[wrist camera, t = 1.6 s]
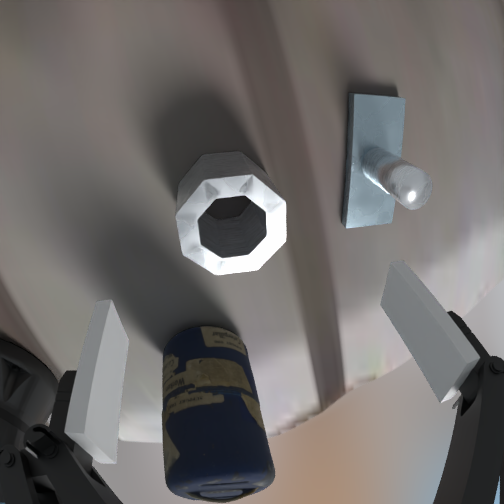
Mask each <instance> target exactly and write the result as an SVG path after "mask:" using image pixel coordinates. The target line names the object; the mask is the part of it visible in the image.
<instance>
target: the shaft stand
mask: <svg viewBox="0 0 504 504" xmlns="http://www.w3.org/2000/svg"><path fill="white" fill-rule="evenodd" d="M404 113H405V98H401V97H396V96H386V95H374V94H361V93H349V111H348V141H347V161H346V177H345V191H344V203H343V215H342V224H343V225H344V227H345V228H353V227H362V226H370V225H379V224H388V223H392V218H393V211H394V205H395V199H396V200H397V201H398V202H400V203H401V204H402V205H403V206H405V207H406V208H407V209H411V210H414V209H418V208H420V207H422V206H423V205H424V204H425V203H426V202H427V201H428V199H429V197H430V195H431V192H432V180H431V178H430V176H429V175H428V174H427V173H426V172H424V171H423V170H421V169H419V168H417V167H416V166H414V165H412V164H411V163H409V162H407V161H405V160H403V159H402V158H401V150H402V140H403V128H404Z"/></svg>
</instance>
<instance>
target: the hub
mask: <svg viewBox="0 0 504 504" xmlns="http://www.w3.org/2000/svg"><path fill="white" fill-rule="evenodd" d="M243 195H245V196H247V197H248V198H249V199H250V200H252V202H251V203H250V204H249V205H248V206H247V207H246V208H245V209H244V210H243V212H242V213H241V214H240V215H239V216H238V217H233V218H225V219H217V220H216V219H214V218H213V217H212V216H210V215H209V214H207V213H206V212H204V211H205V210H206V209H207V208H208V207H209V206H210V204H211V203H212V202H213V201H214V200H215V199H217V198H226V197H234V196H243ZM175 216H176V221H177V227H178V233H179V238H180V244H181V249H182V254H183V255H184V256H186V257H188V258H189V259H191V260H192V261H194V262H196V263H197V264H199V265H200V266H202V267H204V268H205V269H207V270H209V271H210V272H212V273H214V274H215V275H222V274H229V273H237V272H244V271H251V270H257V269H258V268H259V267H260V266H261V265H262V264H263V263H264V262H265V261H266V260H267V259H268V258H269V257H270V256H271V255H272V254H273V253H274V252H275V251H276V250H277V249H278V248H279V247H280V246H281V245H282V244H283V243H284V242H285V241H286V201H285V200H284V198H283V197H282V195H281V194H280V192H279V191H278V189H277V188H276V186H275V185H274V183H273V182H272V180H271V179H270V177H269V176H268V174H267V173H266V172H265V171H264V170H263V169H261V168H260V167H259V166H258V165H257V164H255V163H254V162H253V161H252V160H250V159H249V158H248V157H247V156H246V155H244V154H243V153H242V152H241V151H231V152H222V153H213V154H204V155H201V157H200V158H199V159H198V160H197V161H196V163H195V164H194V165H193V166H192V168H191V169H190V170H189V171H188V172H187V174H186V175H185V176H184V177H183V179H182V180H181V181H180V182H179V188H178V196H177V205H176V214H175Z"/></svg>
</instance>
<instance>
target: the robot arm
mask: <svg viewBox="0 0 504 504" xmlns="http://www.w3.org/2000/svg"><path fill="white" fill-rule="evenodd" d="M380 305H381V306H382V308H383V309H384V311H385V313H386V314H387V316H388V317H389V319H390V320H391V322H392V323H393V325H394V327H395V328H396V330H397V331H398V333H399V334H400V336H401V338H402V339H403V341H404V343H405V344H406V346H407V347H408V349H409V351H410V352H411V354H412V356H413V357H414V359H415V361H416V362H417V364H418V366H419V367H420V369H421V371H422V372H423V374H424V376H425V377H426V379H427V381H428V382H429V384H430V386H431V388H432V390H433V391H434V393H435V395H436V397H437V398H438V400H439V402H440V403H442V402H444V401H446V400H448V399H450V398H453V397H454V395H455V394H456V392H457V391H458V390H460V392H461V396H460V397H459V399H458V400H457V401H456V402H455V404H454V405H453V407H452V408H453V409H455V407H456V406H457V405H458V409H457V415H456V420H455V425H454V430H453V435H452V440H451V444H450V448H449V452H448V456H447V460H446V463H445V467H444V471H443V474H442V478H441V481H440V484H439V487H438V490H437V494H436V497H435V500H434V502H433V504H494V500H495V495H496V491H497V486H498V482H499V476H500V504H504V361H503V360H502V359H501V358H499V357H497V356H490V355H489V354H488V353H487V351H486V350H485V349H484V347H483V346H482V344H481V343H480V342H479V341H478V339H477V338H476V337H475V335H474V334H473V333H472V332H471V330H470V329H469V327H467V325H466V324H465V322H464V321H463V320H462V318H461V317H460V316H458V315H457V314H455V313H454V312H453V311H449V312H446V311H445V309H444V308H443V307H442V306H441V304H440V303H439V302H438V301H437V299H436V298H435V297H434V296H433V295H432V293H431V292H430V291H429V290H428V288H427V287H426V286H425V285H424V284H423V282H422V281H421V280H420V279H419V278H418V277H417V275H416V274H415V273H414V272H413V271H412V270H411V268H410V267H409V266H408V265H407V264H406V263H405V262H404V260H401V261H396V262H391V264H390V268H389V272H388V276H387V281H386V285H385V289H384V293H383V296H382V300H381V304H380ZM128 346H129V339H128V337H127V335H126V333H125V330H124V328H123V326H122V323H121V321H120V319H119V316H118V314H117V311H116V309H115V306H114V304H113V301H112V299H111V300H101V301H97V302H96V305H95V308H94V311H93V315H92V318H91V321H90V325H89V328H88V331H87V335H86V338H85V342H84V346H83V349H82V353H81V357H80V361H79V365H78V369H77V371H66V372H65V374H64V375H63V377H62V378H61V379H60V382H59V384H58V382H57V380H56V378H55V377H54V375H53V374H52V373H51V372H50V370H49V369H48V368H47V367H46V366H45V365H44V364H42V363H41V362H40V361H39V360H38V359H36V358H35V357H34V356H32V355H31V354H29V353H28V352H26V351H25V350H23V349H21V348H19V347H17V346H15V345H13V344H11V343H9V342H6V341H3V340H0V504H123V503H122V502H121V501H120V500H119V499H118V497H117V496H116V495H115V494H114V492H113V491H112V490H111V489H110V488H109V486H108V485H107V484H106V483H105V481H104V480H103V479H102V477H101V476H100V475H99V474H98V472H97V471H96V469H95V468H94V467H93V466H92V459H93V458H94V459H95V460H96V461H97V462H98V463H108V464H116V463H117V445H118V431H119V420H120V409H121V399H122V390H123V382H124V374H125V366H126V359H127V352H128ZM51 413H52V415H51V420H50V425H49V427H48V426H46V425H45V423H46V422H47V420H48V418H49V416H50V414H51Z"/></svg>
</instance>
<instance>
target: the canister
mask: <svg viewBox="0 0 504 504" xmlns="http://www.w3.org/2000/svg"><path fill="white" fill-rule="evenodd" d="M162 387H163V411H162V430H163V453H164V454H163V455H164V468H165V480H166V484H167V487H168V488H169V490H170V491H171V492H172V493H174V494H175V495H178V496H180V497H183V498H187V499H191V500H203V501H209V502H218V503H226V502H231V501H235V500H238V499H241V498H243V497H246V496H248V495H252V494H254V493H257V492H259V491H261V490H264V489H265V488H267V487H268V486H269V485H271V484H272V482H273V481H274V478H275V468H274V464H273V460H272V457H271V453H270V449H269V445H268V440H267V436H266V432H265V428H264V424H263V419H262V415H261V411H260V403H259V399H258V394H257V390H256V386H255V381H254V377H253V373H252V370H251V366H250V362H249V358H248V352H247V349H246V346H245V345H244V343H243V341H242V340H241V339H240V338H239V337H238V336H236V335H235V334H233V333H232V332H230V331H228V330H225V329H222V328H219V327H210V326H203V327H195V328H191V329H188V330H185V331H183V332H181V333H179V334H177V335H176V336H175V337H173V338H172V339H171V340H170V341H169V343H168V344H167V346H166V347H165V350H164V354H163V384H162Z"/></svg>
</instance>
